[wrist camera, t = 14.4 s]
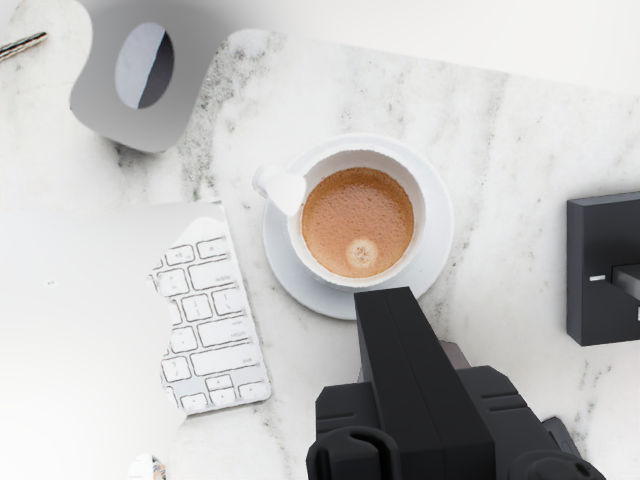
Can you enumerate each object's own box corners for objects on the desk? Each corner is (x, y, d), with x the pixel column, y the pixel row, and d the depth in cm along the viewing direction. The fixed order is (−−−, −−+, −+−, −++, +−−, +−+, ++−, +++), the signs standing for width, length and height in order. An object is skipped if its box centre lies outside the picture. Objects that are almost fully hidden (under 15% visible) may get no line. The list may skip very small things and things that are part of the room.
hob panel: (566, 200, 48) (584, 206, 45) (681, 186, 48) (706, 191, 45) (566, 333, 52) (582, 347, 49) (673, 320, 51) (696, 334, 48)
